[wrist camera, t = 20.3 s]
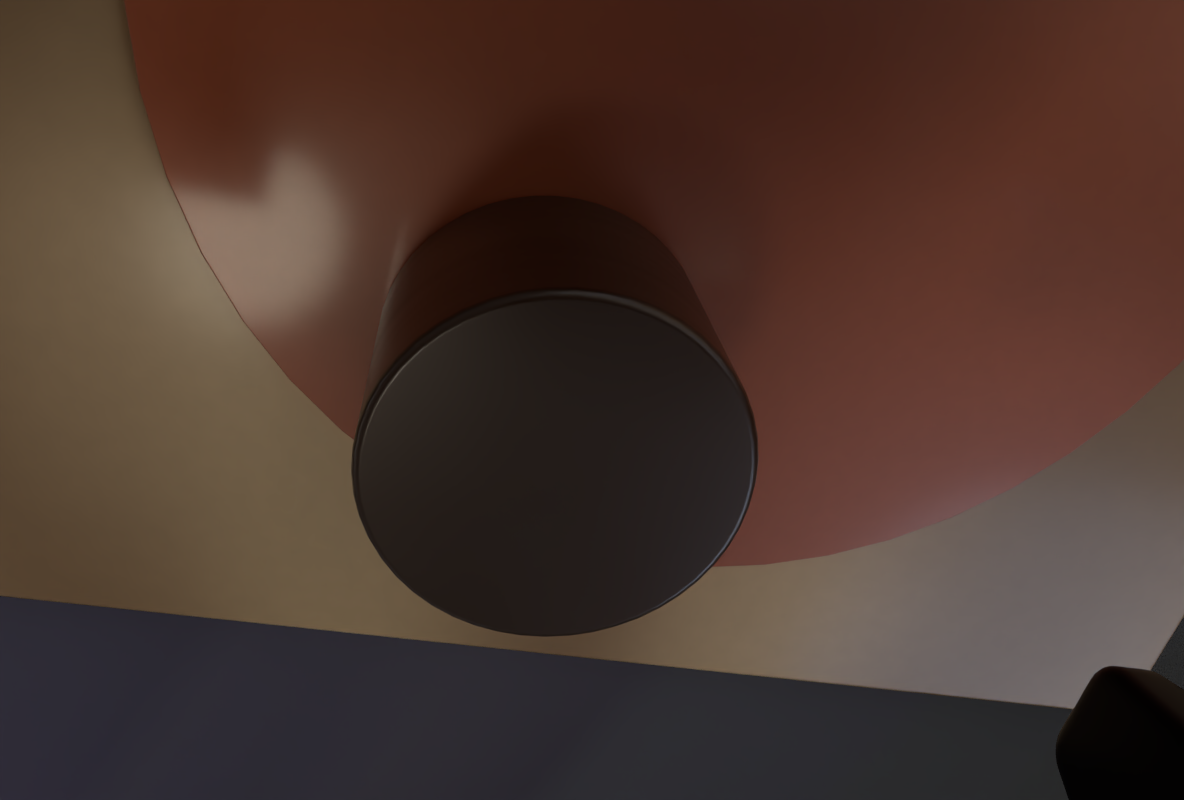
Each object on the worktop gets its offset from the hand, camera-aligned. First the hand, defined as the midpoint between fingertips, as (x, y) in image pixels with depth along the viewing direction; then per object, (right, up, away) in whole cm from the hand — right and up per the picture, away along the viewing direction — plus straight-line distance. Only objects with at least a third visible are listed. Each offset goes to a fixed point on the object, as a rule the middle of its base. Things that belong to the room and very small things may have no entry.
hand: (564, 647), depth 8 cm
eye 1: (0, +2, +5) cm, 5 cm away
